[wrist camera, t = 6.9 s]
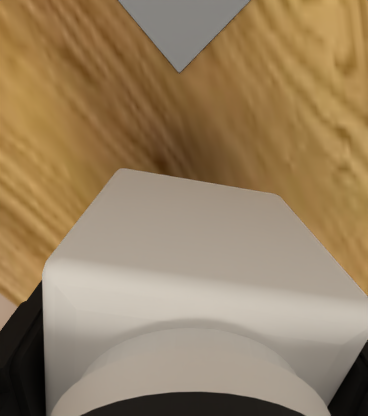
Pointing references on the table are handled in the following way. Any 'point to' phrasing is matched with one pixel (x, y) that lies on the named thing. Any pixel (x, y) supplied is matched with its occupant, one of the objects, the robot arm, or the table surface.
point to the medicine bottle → (195, 306)
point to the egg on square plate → (182, 24)
